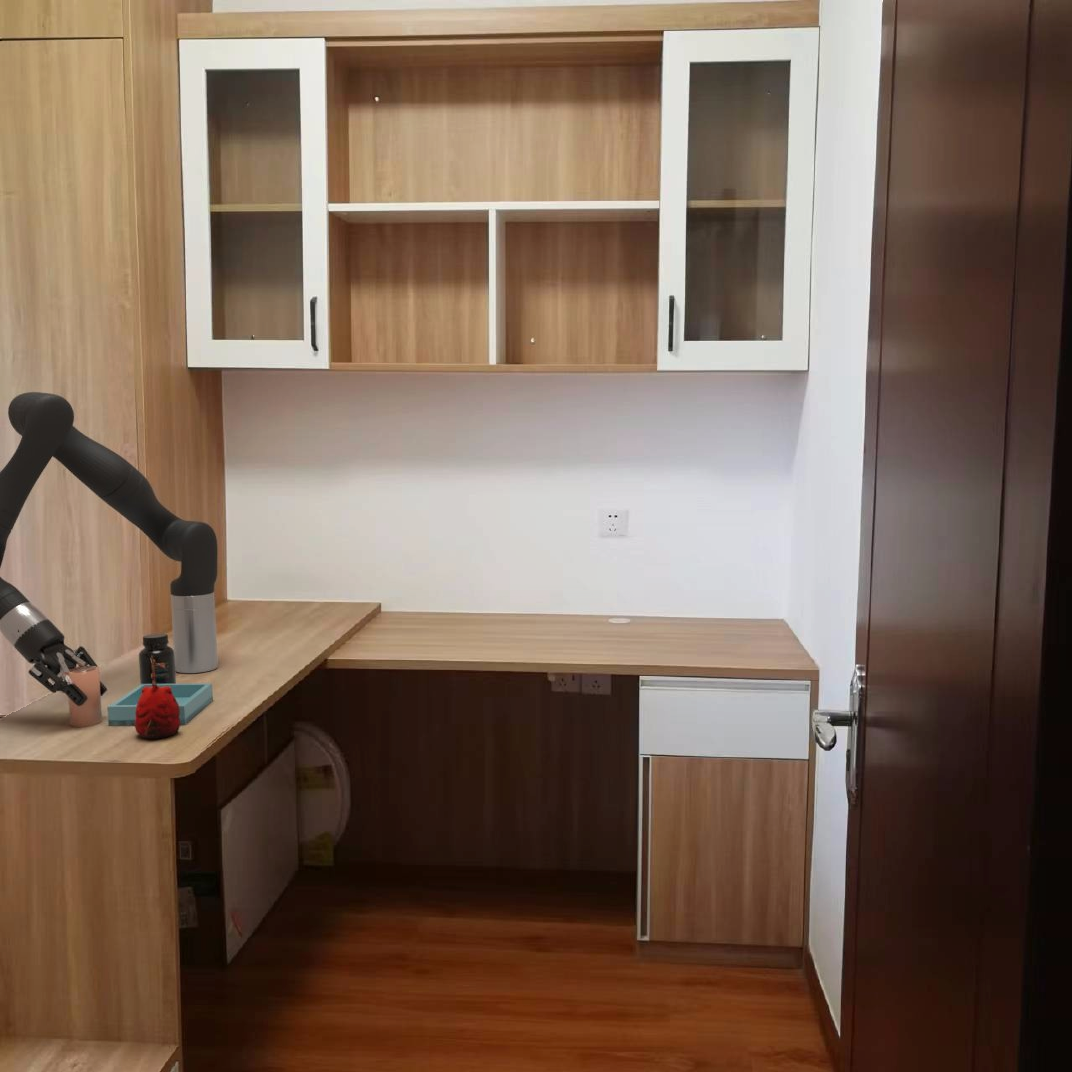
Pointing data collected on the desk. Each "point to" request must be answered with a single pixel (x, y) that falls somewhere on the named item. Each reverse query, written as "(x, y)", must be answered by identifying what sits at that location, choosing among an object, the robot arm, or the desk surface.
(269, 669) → the desk surface
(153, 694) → the red clay folk toy
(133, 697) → the teal tray
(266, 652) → the desk surface
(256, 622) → the desk surface
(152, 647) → the supplement bottle
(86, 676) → the terracotta cup
